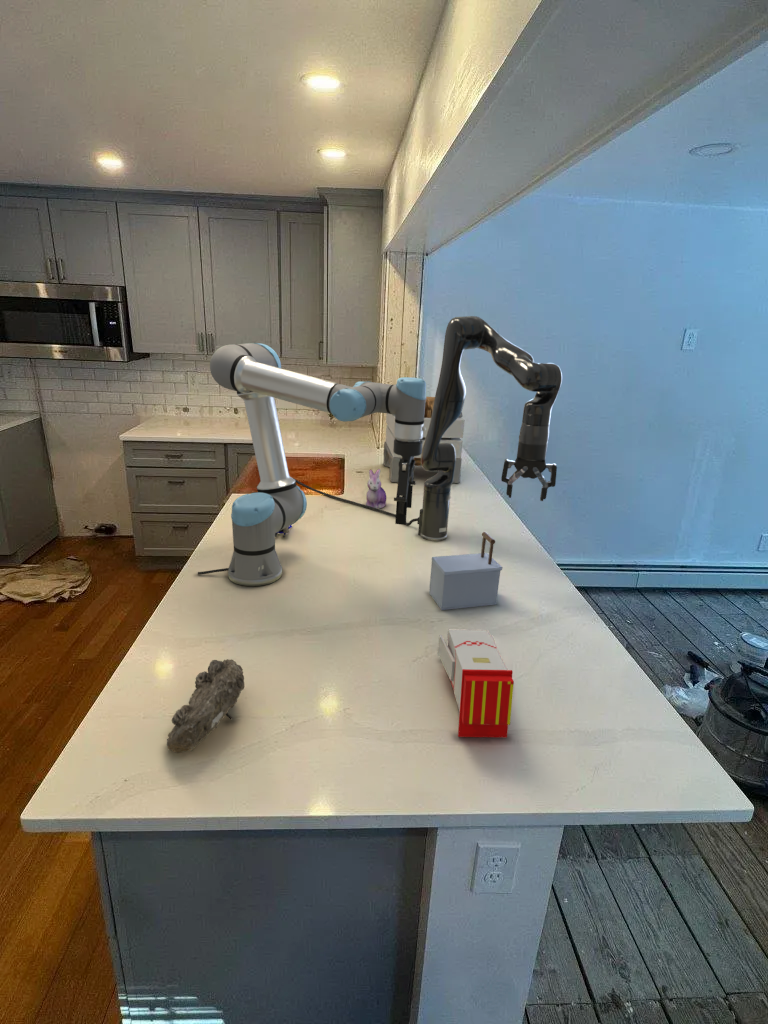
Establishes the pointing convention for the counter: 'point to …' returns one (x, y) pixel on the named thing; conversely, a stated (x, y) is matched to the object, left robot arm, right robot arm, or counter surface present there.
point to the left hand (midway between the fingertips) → (403, 515)
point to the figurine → (375, 491)
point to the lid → (469, 561)
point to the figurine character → (284, 531)
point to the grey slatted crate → (449, 436)
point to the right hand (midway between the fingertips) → (525, 498)
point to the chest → (463, 588)
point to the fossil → (206, 705)
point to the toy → (478, 682)
